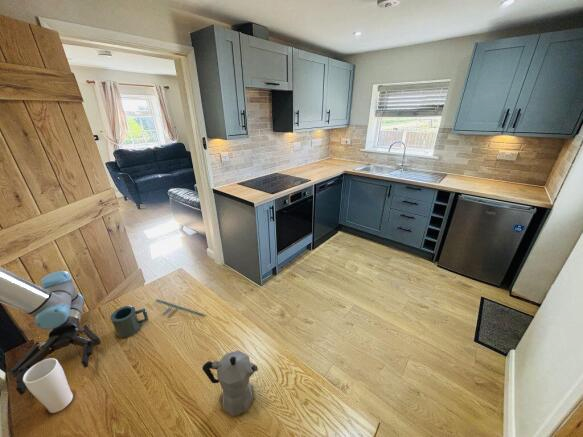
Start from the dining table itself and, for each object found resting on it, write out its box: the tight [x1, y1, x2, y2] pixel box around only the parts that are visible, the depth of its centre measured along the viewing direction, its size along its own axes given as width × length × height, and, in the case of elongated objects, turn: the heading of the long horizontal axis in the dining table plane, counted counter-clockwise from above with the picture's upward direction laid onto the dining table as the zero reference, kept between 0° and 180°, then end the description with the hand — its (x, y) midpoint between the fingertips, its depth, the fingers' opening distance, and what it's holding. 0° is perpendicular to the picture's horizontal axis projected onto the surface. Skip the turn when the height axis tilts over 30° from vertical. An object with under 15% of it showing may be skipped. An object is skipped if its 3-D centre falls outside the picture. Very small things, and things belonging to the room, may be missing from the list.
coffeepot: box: [202, 350, 259, 417], centre depth 67 cm, size 15×9×18 cm, turn 86°
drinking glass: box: [23, 357, 74, 414], centre depth 65 cm, size 7×7×15 cm
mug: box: [110, 305, 149, 339], centre depth 90 cm, size 11×8×9 cm
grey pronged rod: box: [156, 299, 204, 318], centre depth 99 cm, size 1×25×5 cm
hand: (54, 377), depth 67 cm, fingers open, 13 cm apart
